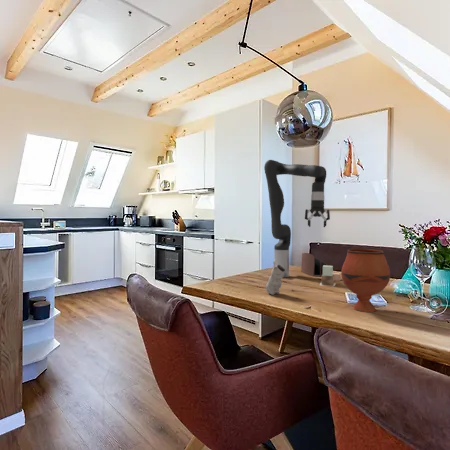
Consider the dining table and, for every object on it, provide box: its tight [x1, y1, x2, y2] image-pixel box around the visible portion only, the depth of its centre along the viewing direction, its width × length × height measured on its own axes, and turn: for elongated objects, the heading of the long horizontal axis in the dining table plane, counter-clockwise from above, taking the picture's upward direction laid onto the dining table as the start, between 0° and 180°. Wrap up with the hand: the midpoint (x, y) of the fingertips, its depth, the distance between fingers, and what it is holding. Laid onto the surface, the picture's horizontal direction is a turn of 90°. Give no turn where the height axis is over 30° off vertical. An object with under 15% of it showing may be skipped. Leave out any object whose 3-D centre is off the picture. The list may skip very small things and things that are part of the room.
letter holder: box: [300, 252, 328, 278], centre depth 222 cm, size 10×20×14 cm, turn 10°
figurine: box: [265, 265, 285, 296], centre depth 166 cm, size 9×10×15 cm
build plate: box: [319, 281, 337, 287], centre depth 184 cm, size 20×16×1 cm
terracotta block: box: [333, 272, 342, 282], centre depth 196 cm, size 5×5×5 cm
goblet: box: [340, 247, 391, 313], centre depth 139 cm, size 19×19×25 cm
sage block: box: [323, 264, 334, 276], centre depth 183 cm, size 5×5×5 cm
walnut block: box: [321, 274, 335, 287], centre depth 183 cm, size 6×6×5 cm
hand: (317, 226), depth 199 cm, fingers open, 8 cm apart
